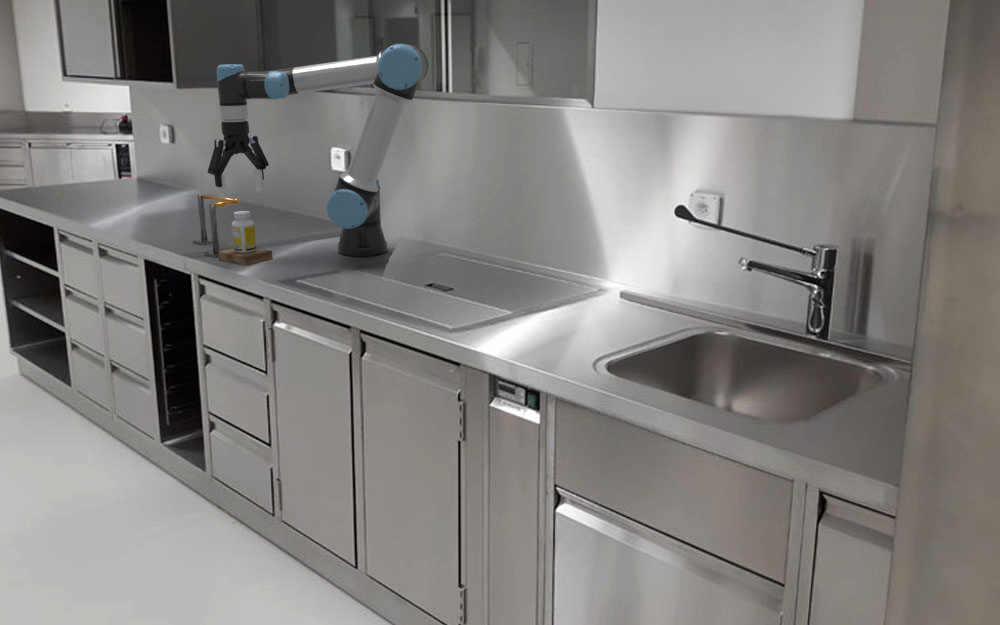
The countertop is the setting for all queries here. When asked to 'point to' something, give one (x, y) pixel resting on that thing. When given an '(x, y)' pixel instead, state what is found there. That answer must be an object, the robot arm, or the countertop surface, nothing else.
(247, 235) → the pill bottle
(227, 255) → the pad
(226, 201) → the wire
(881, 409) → the countertop surface
